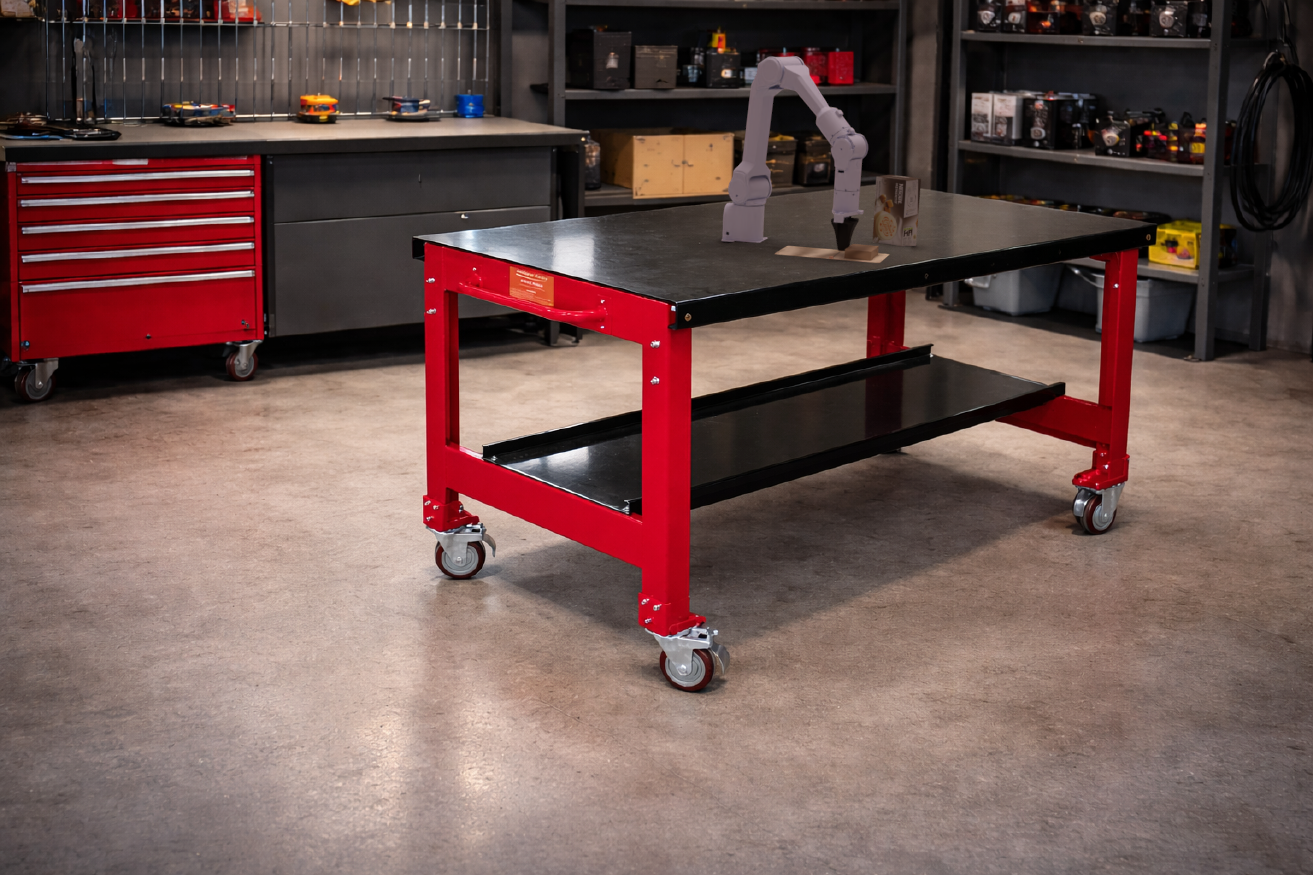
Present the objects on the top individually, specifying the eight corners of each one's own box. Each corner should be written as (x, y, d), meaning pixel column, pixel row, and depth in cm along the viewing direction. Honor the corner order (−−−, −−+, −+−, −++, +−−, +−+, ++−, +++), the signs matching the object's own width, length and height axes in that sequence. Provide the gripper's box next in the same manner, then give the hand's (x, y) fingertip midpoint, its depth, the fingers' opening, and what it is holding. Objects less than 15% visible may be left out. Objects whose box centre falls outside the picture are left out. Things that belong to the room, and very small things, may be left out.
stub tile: (844, 258, 304) (844, 249, 303) (851, 252, 311) (852, 243, 311) (870, 260, 302) (871, 251, 302) (877, 254, 309) (878, 246, 309)
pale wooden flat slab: (773, 256, 307) (774, 252, 307) (787, 248, 318) (787, 244, 318) (879, 265, 300) (879, 261, 300) (889, 256, 311) (889, 252, 310)
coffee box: (917, 246, 326) (923, 178, 321) (901, 248, 321) (907, 180, 316) (886, 240, 332) (891, 174, 327) (870, 243, 328) (875, 176, 323)
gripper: (858, 195, 296) (853, 257, 300) (871, 187, 309) (866, 246, 313) (826, 192, 298) (822, 254, 302) (840, 185, 311) (836, 244, 315)
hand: (842, 250), depth 308 cm, fingers closed, pressing on stub tile
